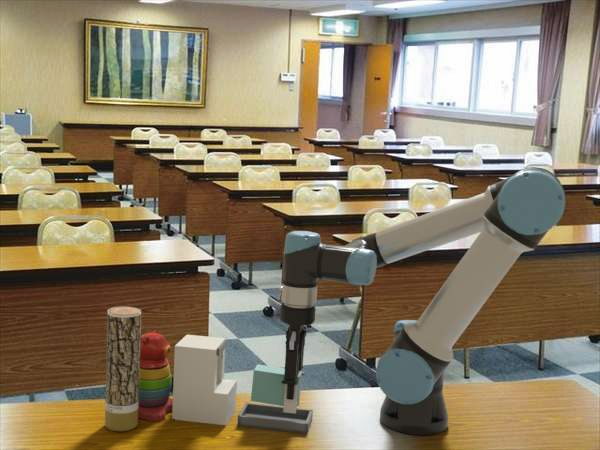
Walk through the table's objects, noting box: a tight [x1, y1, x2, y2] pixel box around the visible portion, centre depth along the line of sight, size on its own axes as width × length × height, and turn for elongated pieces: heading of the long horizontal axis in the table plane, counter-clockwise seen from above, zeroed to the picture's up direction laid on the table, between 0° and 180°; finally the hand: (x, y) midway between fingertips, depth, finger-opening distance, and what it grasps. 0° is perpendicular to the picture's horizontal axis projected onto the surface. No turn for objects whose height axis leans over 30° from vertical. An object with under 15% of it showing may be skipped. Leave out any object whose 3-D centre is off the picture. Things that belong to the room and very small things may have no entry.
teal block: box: [250, 363, 303, 407], centre depth 168 cm, size 10×4×7 cm, turn 82°
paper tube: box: [104, 306, 142, 432], centre depth 161 cm, size 7×7×25 cm
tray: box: [237, 402, 314, 435], centre depth 169 cm, size 15×8×2 cm, turn 82°
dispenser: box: [171, 334, 238, 426], centre depth 170 cm, size 12×9×16 cm
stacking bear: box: [138, 329, 173, 422], centre depth 171 cm, size 11×10×18 cm
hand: (291, 408), depth 168 cm, fingers closed on teal block, 4 cm apart
